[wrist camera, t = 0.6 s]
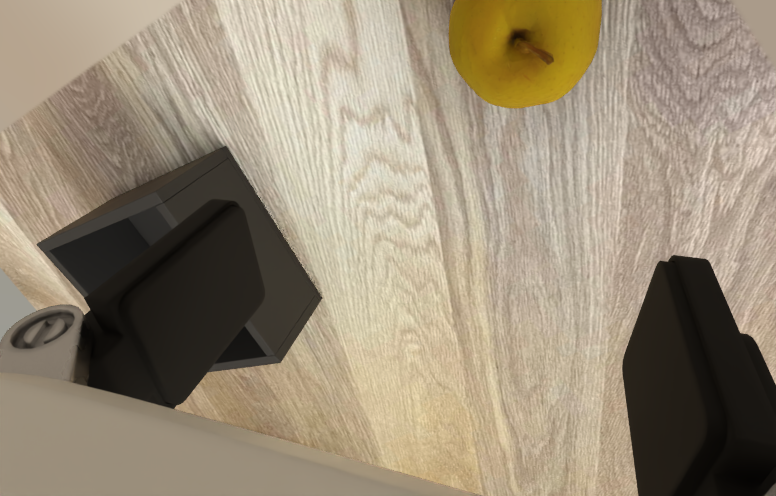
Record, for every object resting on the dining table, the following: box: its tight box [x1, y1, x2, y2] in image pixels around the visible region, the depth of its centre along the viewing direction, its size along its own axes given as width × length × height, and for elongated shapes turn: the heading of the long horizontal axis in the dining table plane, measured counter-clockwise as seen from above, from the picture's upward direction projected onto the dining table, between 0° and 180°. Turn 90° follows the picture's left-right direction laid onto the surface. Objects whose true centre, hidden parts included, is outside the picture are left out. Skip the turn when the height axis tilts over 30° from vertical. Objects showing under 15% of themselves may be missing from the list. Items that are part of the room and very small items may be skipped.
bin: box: [37, 146, 322, 372], centre depth 37 cm, size 15×15×8 cm
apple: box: [449, 0, 602, 108], centre depth 20 cm, size 6×6×8 cm
